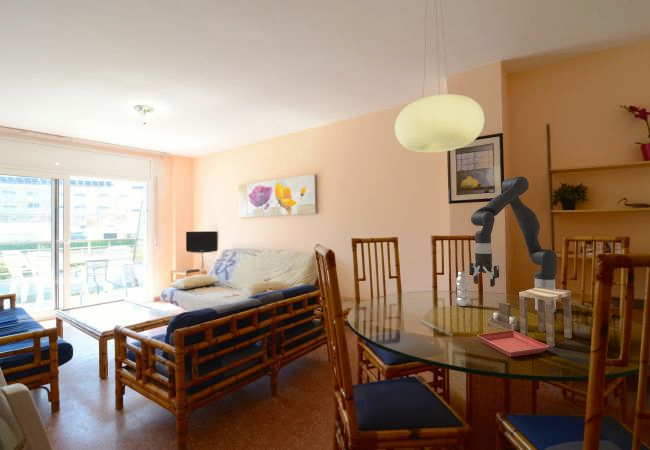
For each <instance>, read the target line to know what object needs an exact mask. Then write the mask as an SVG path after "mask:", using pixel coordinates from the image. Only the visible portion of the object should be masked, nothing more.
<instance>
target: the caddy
mask: <svg viewBox="0 0 650 450" xmlns="http://www.w3.org/2000/svg"><path fill="white" fill-rule="evenodd" d="M511 310H512V309H511V303H507V302H502V301H500V302H498V312H496V311H495V312H493V316H492V317H490V318H487V326H490V327H493V328H497V329H500V328H501V330H503V331H508V330H509V331H511V330H512V331H516V330H518V331H520V330H519V329H520V320H518V317H517V316H515V315H511V312H512V311H511ZM516 332H517V331H516Z"/></svg>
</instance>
